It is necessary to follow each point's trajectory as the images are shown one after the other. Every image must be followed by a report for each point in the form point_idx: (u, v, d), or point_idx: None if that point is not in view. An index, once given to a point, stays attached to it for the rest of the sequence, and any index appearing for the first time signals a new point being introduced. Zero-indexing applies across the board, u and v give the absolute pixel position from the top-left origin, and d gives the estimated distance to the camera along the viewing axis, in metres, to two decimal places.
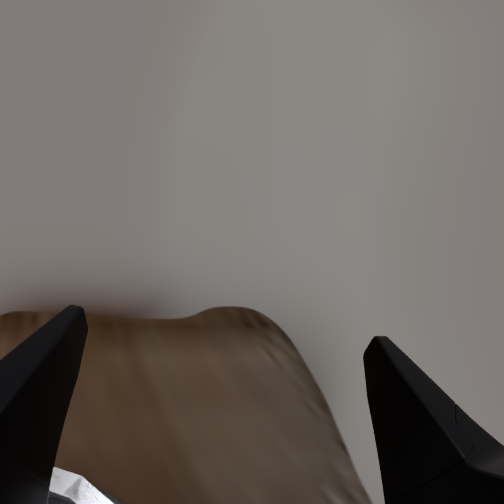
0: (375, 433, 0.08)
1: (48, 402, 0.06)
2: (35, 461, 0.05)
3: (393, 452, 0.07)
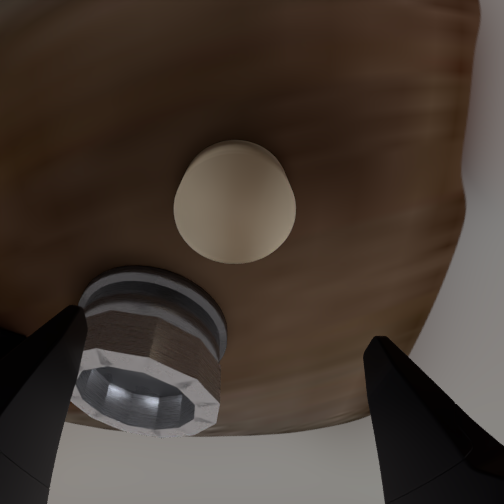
0: (375, 433, 0.08)
1: (48, 402, 0.06)
2: (35, 461, 0.05)
3: (393, 452, 0.07)
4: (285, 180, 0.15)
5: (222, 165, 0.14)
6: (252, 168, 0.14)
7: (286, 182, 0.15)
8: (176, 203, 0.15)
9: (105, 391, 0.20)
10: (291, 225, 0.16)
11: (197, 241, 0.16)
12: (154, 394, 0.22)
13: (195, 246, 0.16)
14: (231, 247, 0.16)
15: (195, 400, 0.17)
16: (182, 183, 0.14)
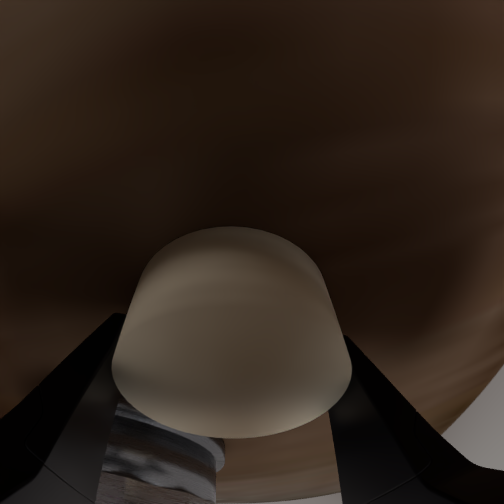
0: (333, 438, 0.08)
1: (98, 416, 0.06)
2: (85, 478, 0.05)
3: (350, 459, 0.07)
4: (340, 346, 0.06)
5: (199, 327, 0.06)
6: (270, 332, 0.06)
7: (341, 348, 0.07)
8: (116, 375, 0.07)
9: None
10: (336, 396, 0.08)
11: (167, 417, 0.08)
12: None
13: (165, 422, 0.08)
14: (227, 426, 0.08)
15: None
16: (119, 350, 0.06)
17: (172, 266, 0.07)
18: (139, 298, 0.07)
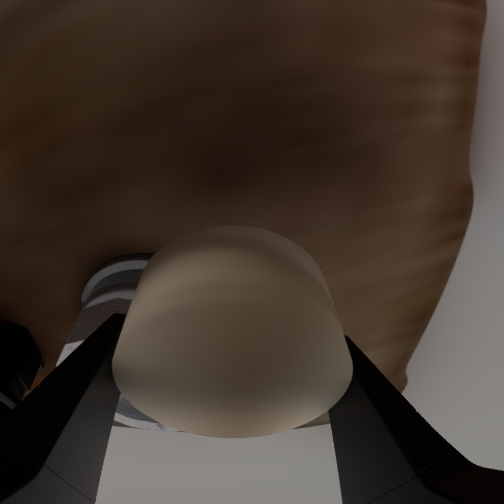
0: (334, 438, 0.08)
1: (98, 416, 0.06)
2: (85, 478, 0.05)
3: (350, 459, 0.07)
4: (341, 345, 0.06)
5: (200, 326, 0.06)
6: (271, 331, 0.06)
7: (342, 347, 0.06)
8: (117, 374, 0.07)
9: None
10: (337, 395, 0.08)
11: (167, 417, 0.08)
12: None
13: (165, 421, 0.08)
14: (227, 425, 0.08)
15: None
16: (119, 349, 0.06)
17: (173, 265, 0.07)
18: (140, 297, 0.07)
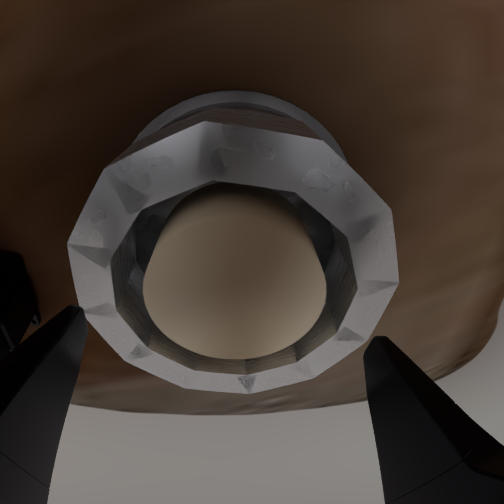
0: (375, 433, 0.08)
1: (48, 402, 0.06)
2: (35, 461, 0.05)
3: (393, 452, 0.07)
4: (314, 258, 0.09)
5: (213, 237, 0.09)
6: (262, 242, 0.09)
7: (315, 261, 0.09)
8: (146, 288, 0.10)
9: None
10: (317, 314, 0.11)
11: (181, 335, 0.11)
12: None
13: (179, 340, 0.11)
14: (230, 342, 0.11)
15: (364, 276, 0.10)
16: (152, 262, 0.09)
17: (193, 204, 0.10)
18: (168, 227, 0.10)
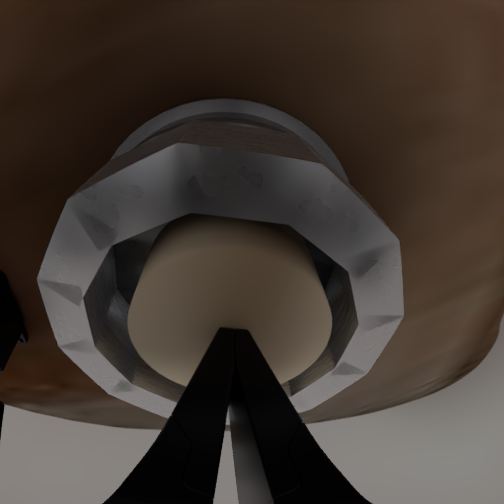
0: (231, 439, 0.07)
1: None
2: None
3: (239, 465, 0.06)
4: (319, 291, 0.08)
5: (203, 272, 0.08)
6: (260, 276, 0.08)
7: (320, 294, 0.08)
8: (131, 325, 0.08)
9: None
10: (322, 347, 0.10)
11: (173, 371, 0.10)
12: None
13: (171, 376, 0.10)
14: None
15: (365, 311, 0.09)
16: (135, 298, 0.08)
17: (180, 230, 0.09)
18: (153, 257, 0.09)
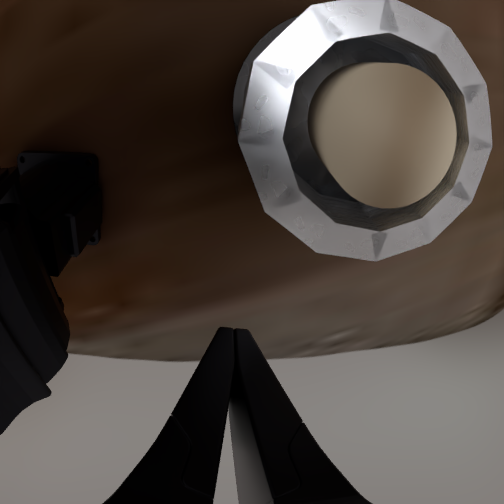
0: (231, 439, 0.07)
1: None
2: None
3: (239, 465, 0.06)
4: (450, 108, 0.10)
5: (392, 75, 0.09)
6: (422, 86, 0.09)
7: (451, 110, 0.10)
8: (330, 114, 0.10)
9: None
10: (447, 164, 0.11)
11: (346, 172, 0.11)
12: None
13: (342, 179, 0.12)
14: (385, 184, 0.12)
15: (472, 132, 0.10)
16: (342, 88, 0.10)
17: (358, 64, 0.10)
18: (343, 74, 0.10)
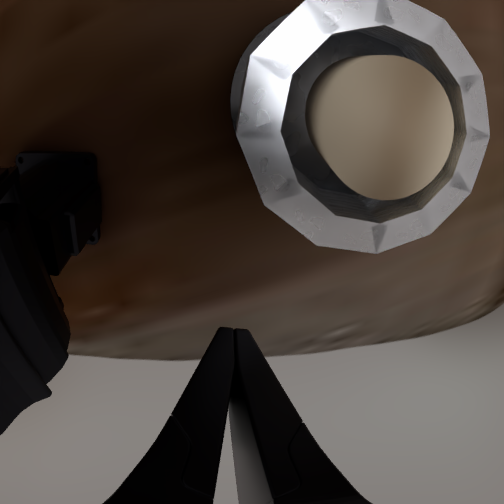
0: (231, 439, 0.07)
1: None
2: None
3: (239, 465, 0.06)
4: (447, 99, 0.10)
5: (388, 67, 0.09)
6: (418, 78, 0.09)
7: (448, 101, 0.10)
8: (327, 107, 0.10)
9: None
10: (445, 155, 0.11)
11: (345, 164, 0.11)
12: None
13: (341, 171, 0.11)
14: (384, 176, 0.12)
15: (470, 123, 0.10)
16: (339, 81, 0.10)
17: (354, 57, 0.10)
18: (339, 67, 0.10)
